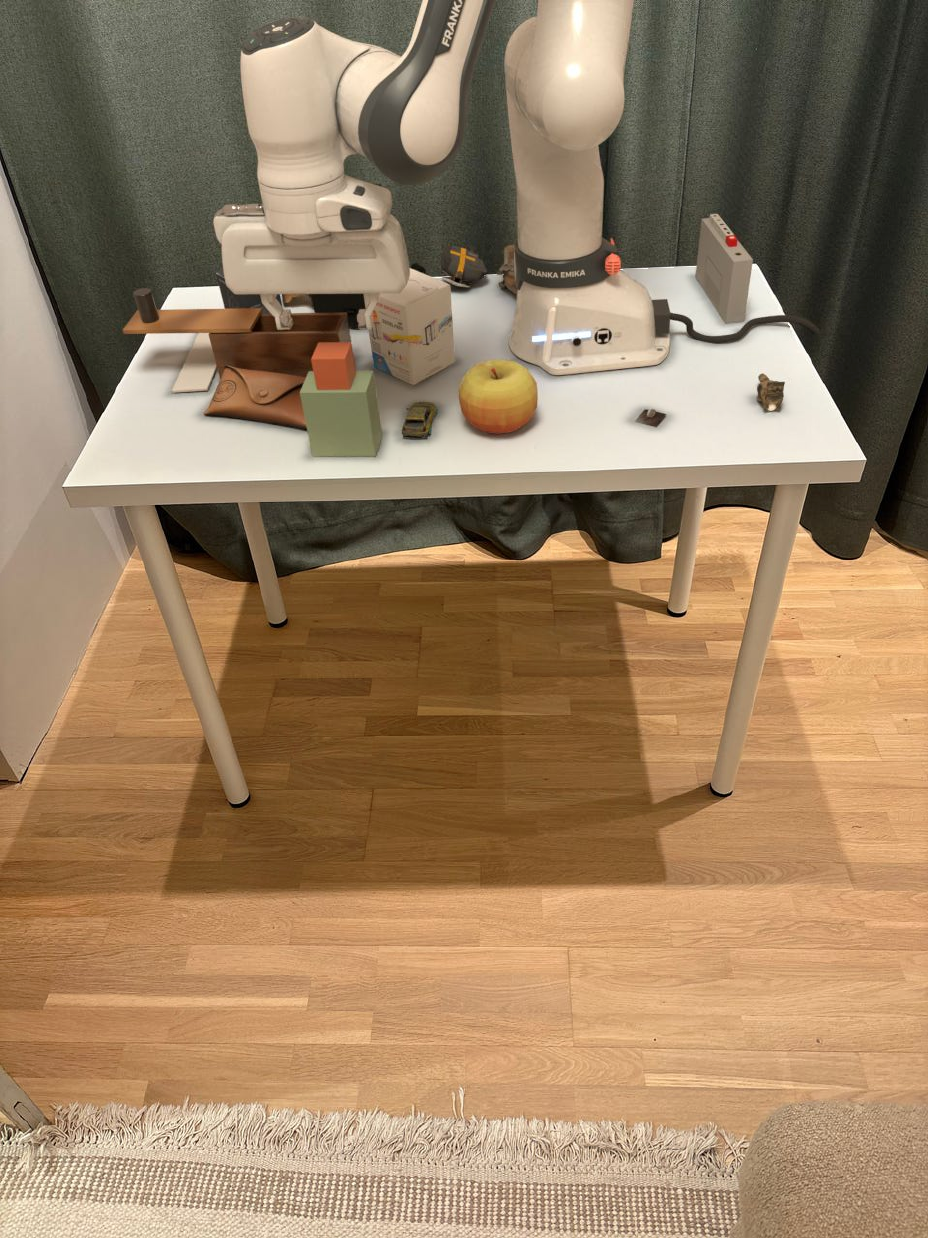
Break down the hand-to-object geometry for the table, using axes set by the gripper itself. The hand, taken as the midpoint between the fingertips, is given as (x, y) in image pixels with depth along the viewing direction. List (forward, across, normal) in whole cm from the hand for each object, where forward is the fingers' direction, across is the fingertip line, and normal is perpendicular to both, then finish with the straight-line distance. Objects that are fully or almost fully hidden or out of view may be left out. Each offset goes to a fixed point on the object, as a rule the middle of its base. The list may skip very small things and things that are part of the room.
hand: (325, 327), depth 109 cm
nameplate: (+16, -25, +24) cm, 38 cm away
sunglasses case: (+16, -11, +9) cm, 22 cm away
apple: (+16, +19, +5) cm, 25 cm away
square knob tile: (+16, +38, +6) cm, 42 cm away
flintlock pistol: (+14, +26, +47) cm, 55 cm away
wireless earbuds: (+14, 0, +46) cm, 48 cm away
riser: (+16, 0, 0) cm, 16 cm away
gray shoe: (+12, +11, +49) cm, 52 cm away
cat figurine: (+15, +53, +10) cm, 56 cm away
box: (+16, -18, +27) cm, 37 cm away
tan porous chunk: (+12, -18, +41) cm, 46 cm away
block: (+7, 0, 0) cm, 7 cm away
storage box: (+16, -12, +19) cm, 28 cm away
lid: (+9, -24, +19) cm, 32 cm away
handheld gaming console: (+16, -4, +33) cm, 37 cm away
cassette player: (+15, +49, +39) cm, 65 cm away
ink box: (+16, +6, +20) cm, 27 cm away
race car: (+16, +9, +5) cm, 19 cm away
